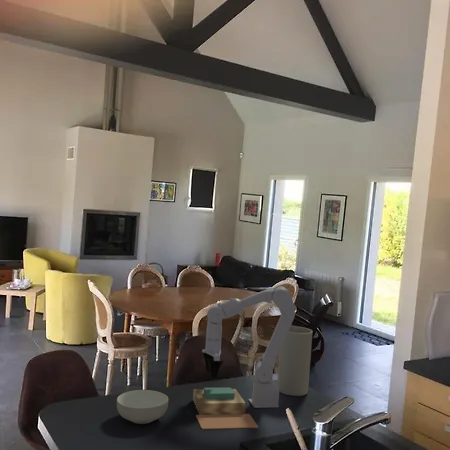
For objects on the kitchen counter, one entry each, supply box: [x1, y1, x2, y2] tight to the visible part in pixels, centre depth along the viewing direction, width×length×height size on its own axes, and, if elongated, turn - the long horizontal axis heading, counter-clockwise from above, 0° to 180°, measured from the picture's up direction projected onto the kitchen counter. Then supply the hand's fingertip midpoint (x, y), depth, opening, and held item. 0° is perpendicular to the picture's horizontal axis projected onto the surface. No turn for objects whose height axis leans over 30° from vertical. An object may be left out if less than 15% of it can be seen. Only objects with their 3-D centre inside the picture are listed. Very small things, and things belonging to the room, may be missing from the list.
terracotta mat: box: [195, 413, 259, 430], centre depth 176 cm, size 19×11×1 cm, turn 103°
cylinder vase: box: [277, 325, 313, 397], centre depth 211 cm, size 12×12×25 cm
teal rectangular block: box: [203, 387, 235, 399], centre depth 188 cm, size 10×6×2 cm, turn 103°
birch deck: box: [192, 388, 246, 415], centre depth 188 cm, size 16×14×4 cm
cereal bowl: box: [116, 389, 169, 425], centre depth 173 cm, size 17×17×7 cm
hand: (211, 374), depth 195 cm, fingers open, 7 cm apart
